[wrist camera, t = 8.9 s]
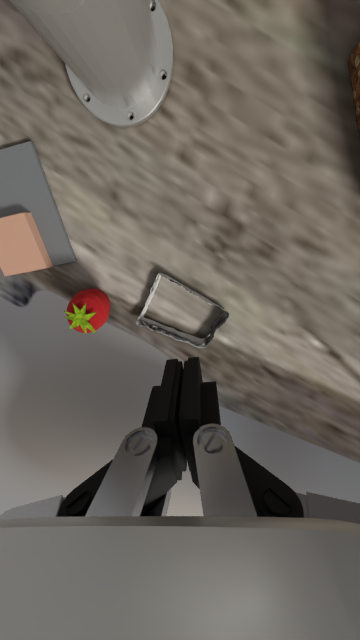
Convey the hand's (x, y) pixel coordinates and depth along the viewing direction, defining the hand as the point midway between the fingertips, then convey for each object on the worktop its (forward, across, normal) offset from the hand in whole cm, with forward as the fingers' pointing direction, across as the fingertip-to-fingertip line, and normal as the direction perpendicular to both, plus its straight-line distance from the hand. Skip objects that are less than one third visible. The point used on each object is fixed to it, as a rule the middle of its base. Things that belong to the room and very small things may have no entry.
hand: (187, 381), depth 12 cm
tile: (+26, +23, -8) cm, 35 cm away
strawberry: (+27, +17, +2) cm, 32 cm away
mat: (+27, +25, -12) cm, 39 cm away
